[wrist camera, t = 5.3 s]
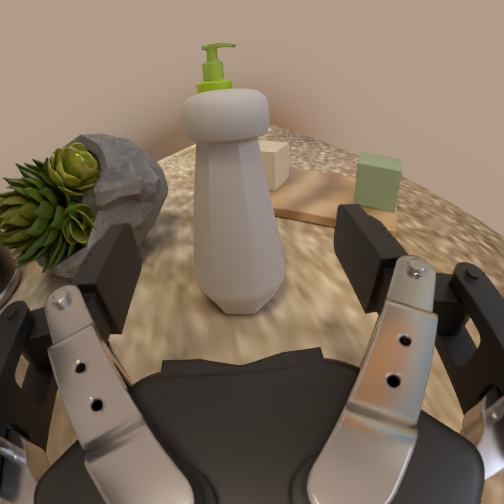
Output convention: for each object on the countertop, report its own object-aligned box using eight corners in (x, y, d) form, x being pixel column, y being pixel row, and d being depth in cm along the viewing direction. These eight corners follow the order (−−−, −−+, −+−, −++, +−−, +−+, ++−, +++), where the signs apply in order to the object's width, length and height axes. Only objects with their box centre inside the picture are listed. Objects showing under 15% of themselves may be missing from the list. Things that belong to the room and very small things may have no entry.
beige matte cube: (239, 186, 33) (236, 149, 30) (255, 173, 36) (253, 140, 33) (275, 191, 31) (275, 152, 28) (288, 177, 34) (288, 142, 32)
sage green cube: (352, 204, 28) (357, 162, 25) (357, 188, 31) (361, 151, 28) (394, 212, 26) (402, 171, 23) (394, 196, 29) (400, 159, 27)
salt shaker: (230, 259, 23) (212, 88, 15) (297, 280, 20) (302, 86, 13) (184, 306, 19) (139, 103, 11) (259, 338, 16) (245, 93, 9)
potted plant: (201, 199, 24) (61, 259, 11) (127, 271, 30) (24, 340, 16) (130, 107, 23) (-7, 104, 10) (74, 190, 29) (-33, 224, 15)
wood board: (221, 207, 31) (220, 198, 30) (265, 171, 39) (265, 164, 39) (394, 240, 24) (397, 231, 23) (394, 192, 33) (396, 185, 32)
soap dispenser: (237, 158, 45) (229, 40, 34) (198, 158, 47) (187, 46, 35) (245, 148, 50) (239, 43, 38) (210, 149, 51) (201, 48, 40)
